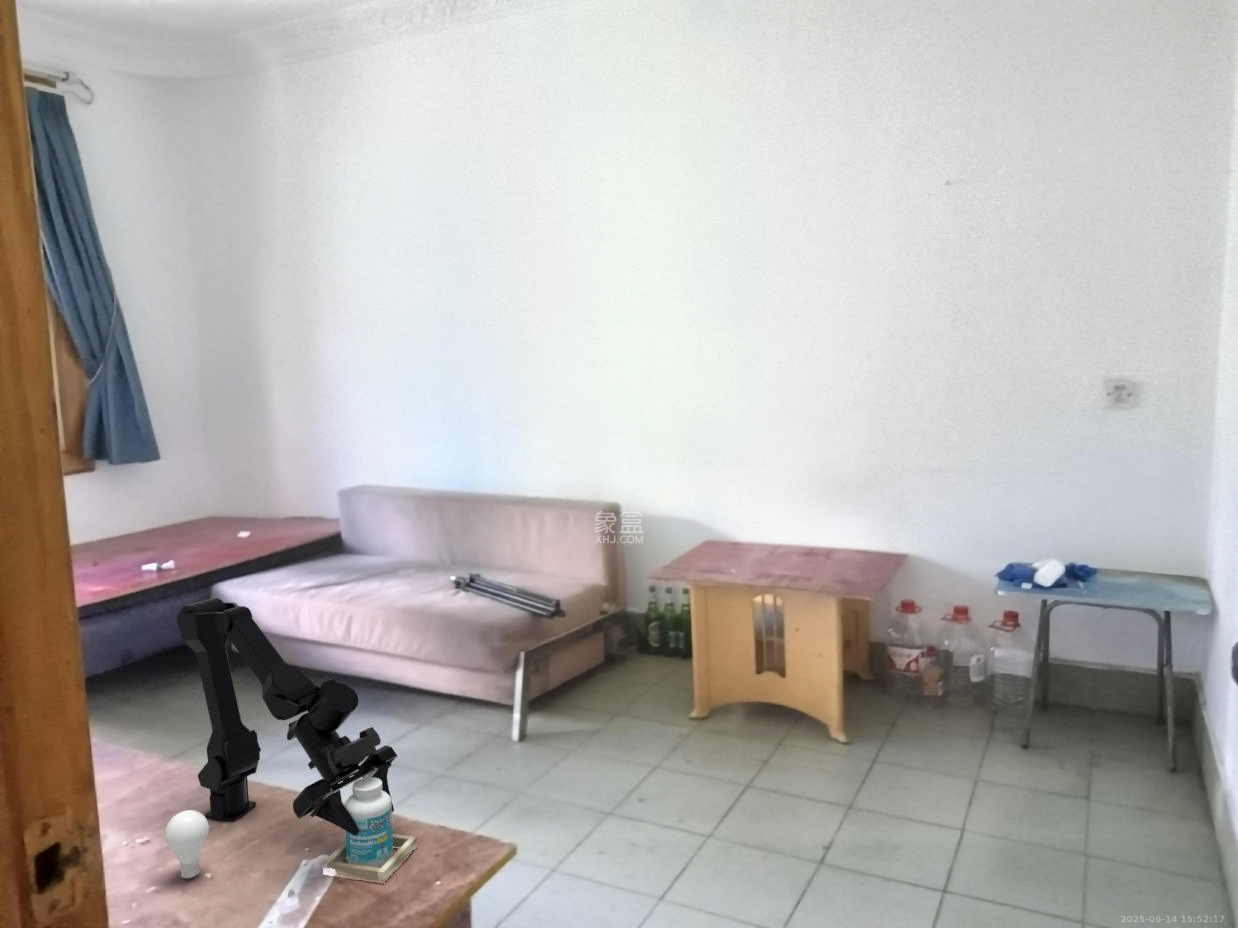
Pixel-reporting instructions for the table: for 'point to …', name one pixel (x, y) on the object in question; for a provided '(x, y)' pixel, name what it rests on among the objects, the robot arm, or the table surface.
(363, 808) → the pill bottle
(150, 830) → the table surface
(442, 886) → the table surface
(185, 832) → the lightbulb
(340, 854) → the wooden collar
